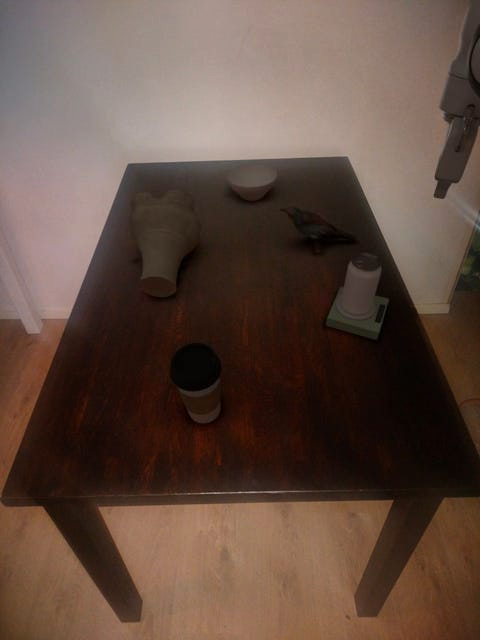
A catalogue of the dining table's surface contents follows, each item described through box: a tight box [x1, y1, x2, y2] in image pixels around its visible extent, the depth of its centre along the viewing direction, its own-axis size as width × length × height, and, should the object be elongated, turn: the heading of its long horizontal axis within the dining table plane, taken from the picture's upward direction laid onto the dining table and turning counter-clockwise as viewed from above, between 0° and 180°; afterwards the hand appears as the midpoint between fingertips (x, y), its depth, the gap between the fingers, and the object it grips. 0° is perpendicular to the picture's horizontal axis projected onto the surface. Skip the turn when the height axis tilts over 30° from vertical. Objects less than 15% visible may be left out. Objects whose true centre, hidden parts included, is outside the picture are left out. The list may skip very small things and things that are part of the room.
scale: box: [325, 286, 390, 341], centre depth 84 cm, size 11×11×3 cm
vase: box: [129, 189, 203, 298], centre depth 93 cm, size 22×22×28 cm
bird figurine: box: [279, 205, 358, 254], centre depth 101 cm, size 13×10×20 cm
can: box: [341, 252, 382, 315], centre depth 79 cm, size 6×6×12 cm
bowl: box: [226, 162, 278, 202], centre depth 123 cm, size 16×16×7 cm
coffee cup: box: [169, 342, 223, 424], centre depth 66 cm, size 8×8×15 cm
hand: (441, 183), depth 67 cm, fingers open, 8 cm apart
